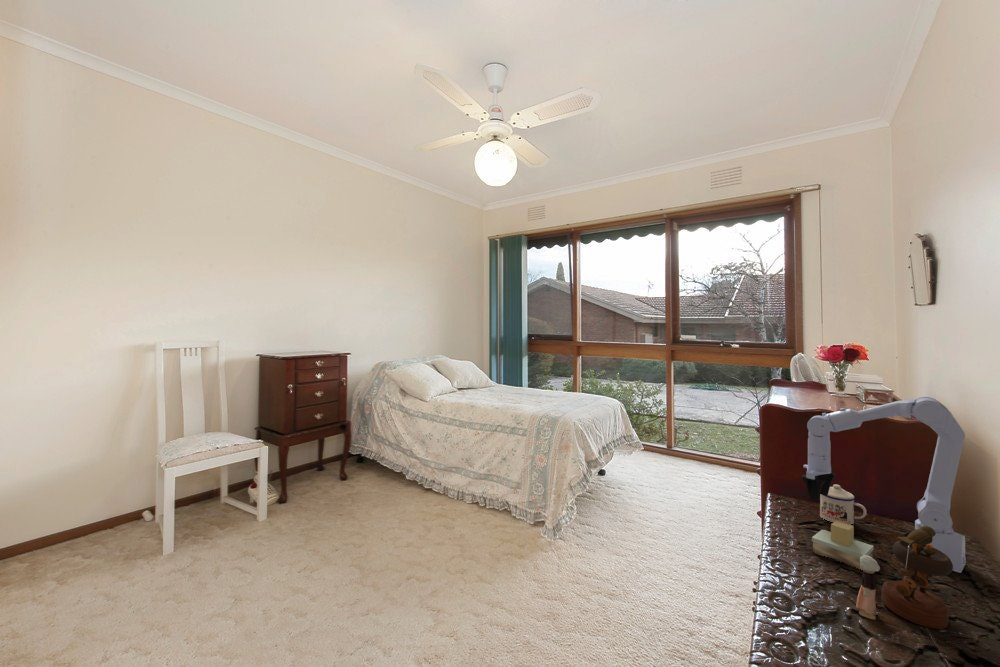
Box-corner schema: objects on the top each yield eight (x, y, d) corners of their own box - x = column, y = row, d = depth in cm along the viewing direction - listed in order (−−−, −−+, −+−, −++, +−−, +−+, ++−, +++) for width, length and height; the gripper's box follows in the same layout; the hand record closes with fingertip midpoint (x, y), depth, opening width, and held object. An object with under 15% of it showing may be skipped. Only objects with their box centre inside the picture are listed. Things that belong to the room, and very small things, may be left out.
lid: (873, 551, 112) (873, 529, 112) (864, 561, 107) (864, 538, 107) (822, 534, 121) (822, 514, 121) (811, 542, 116) (812, 521, 116)
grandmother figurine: (855, 601, 95) (856, 546, 95) (878, 609, 92) (878, 552, 92) (856, 619, 89) (857, 560, 89) (880, 627, 86) (881, 567, 86)
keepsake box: (872, 561, 112) (872, 549, 112) (863, 570, 107) (863, 558, 107) (822, 544, 121) (822, 533, 121) (812, 552, 116) (812, 541, 116)
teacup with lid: (815, 519, 137) (816, 484, 137) (823, 511, 143) (823, 478, 143) (863, 532, 128) (863, 495, 128) (869, 524, 134) (869, 488, 134)
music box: (941, 641, 83) (943, 541, 83) (871, 609, 92) (872, 520, 92) (961, 614, 91) (962, 523, 91) (894, 587, 100) (895, 505, 100)
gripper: (812, 447, 138) (812, 488, 138) (795, 454, 129) (794, 498, 129) (839, 452, 132) (838, 495, 132) (822, 460, 124) (821, 505, 124)
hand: (818, 497), depth 130 cm, fingers open, 7 cm apart
